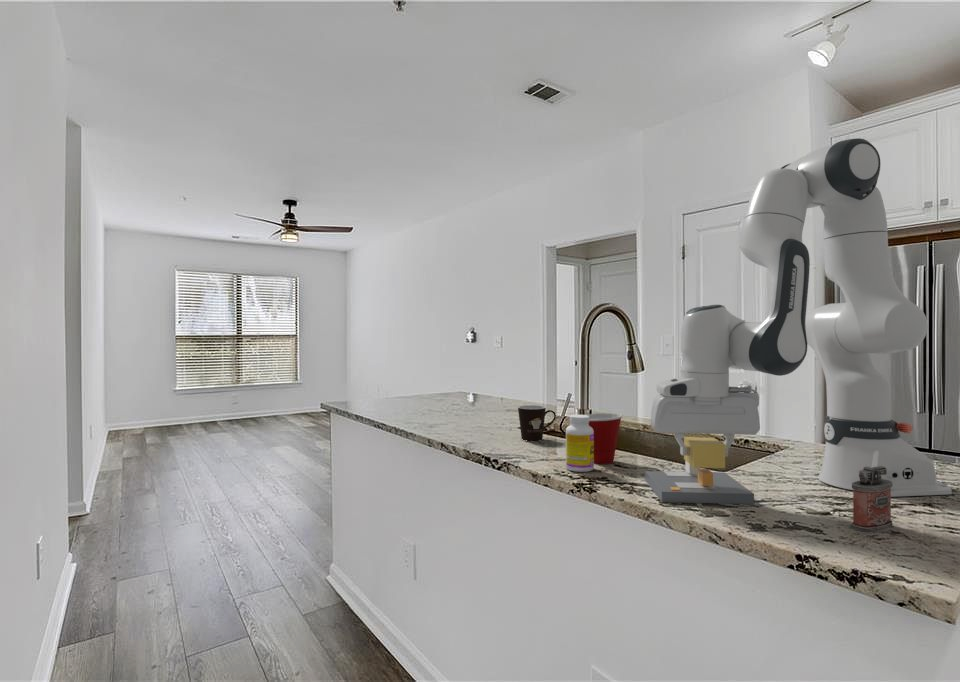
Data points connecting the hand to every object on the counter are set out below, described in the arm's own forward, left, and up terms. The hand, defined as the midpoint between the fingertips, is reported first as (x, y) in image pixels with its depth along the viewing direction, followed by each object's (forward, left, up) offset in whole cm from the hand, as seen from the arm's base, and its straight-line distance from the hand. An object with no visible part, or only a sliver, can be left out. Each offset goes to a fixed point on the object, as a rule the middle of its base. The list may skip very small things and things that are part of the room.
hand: (703, 455), depth 103 cm
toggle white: (0, -9, -6) cm, 10 cm away
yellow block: (0, 0, -2) cm, 2 cm away
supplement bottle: (+23, -19, -8) cm, 31 cm away
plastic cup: (+17, -27, -8) cm, 33 cm away
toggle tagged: (0, 0, -6) cm, 6 cm away
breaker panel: (+1, -3, -8) cm, 9 cm away
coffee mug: (+33, -54, -8) cm, 63 cm away
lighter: (-22, +15, -8) cm, 28 cm away
